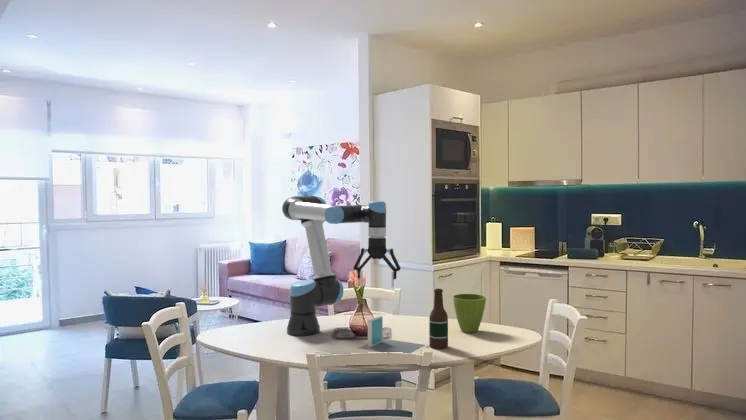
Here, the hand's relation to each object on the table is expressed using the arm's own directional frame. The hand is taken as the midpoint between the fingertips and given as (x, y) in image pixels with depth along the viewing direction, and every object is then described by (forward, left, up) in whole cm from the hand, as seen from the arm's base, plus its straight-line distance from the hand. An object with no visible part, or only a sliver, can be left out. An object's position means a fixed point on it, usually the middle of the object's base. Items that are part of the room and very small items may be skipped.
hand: (376, 286), depth 238 cm
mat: (+11, -6, -24) cm, 27 cm away
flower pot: (+28, +36, -24) cm, 51 cm away
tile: (+3, -6, -23) cm, 24 cm away
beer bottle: (+27, +5, -24) cm, 36 cm away
